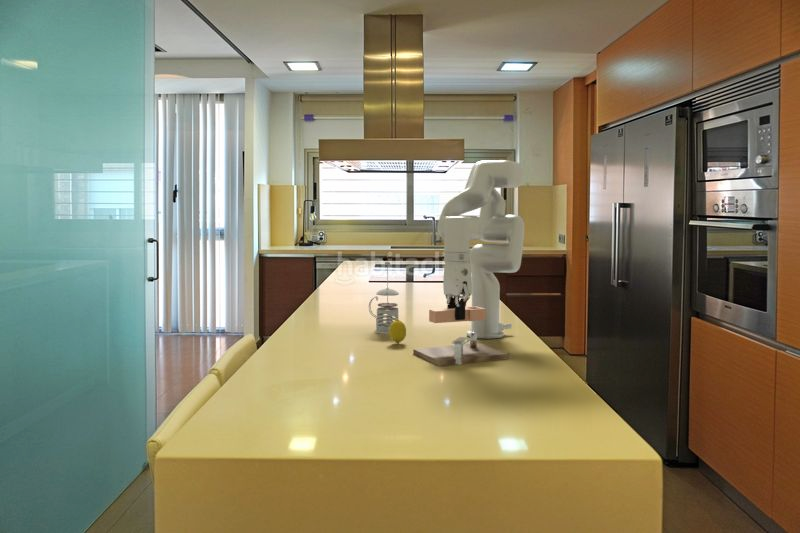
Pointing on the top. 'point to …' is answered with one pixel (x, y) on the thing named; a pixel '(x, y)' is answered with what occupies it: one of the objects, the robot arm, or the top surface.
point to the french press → (385, 309)
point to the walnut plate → (470, 355)
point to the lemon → (397, 331)
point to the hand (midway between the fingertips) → (456, 317)
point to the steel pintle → (473, 340)
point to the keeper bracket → (459, 349)
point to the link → (449, 315)
